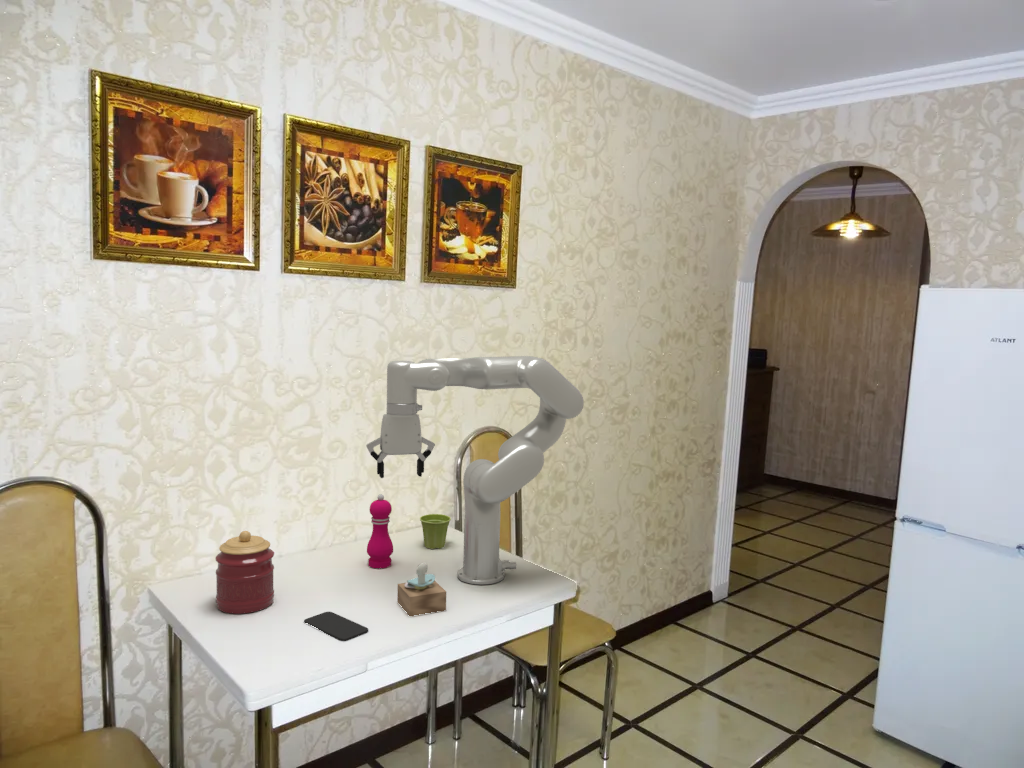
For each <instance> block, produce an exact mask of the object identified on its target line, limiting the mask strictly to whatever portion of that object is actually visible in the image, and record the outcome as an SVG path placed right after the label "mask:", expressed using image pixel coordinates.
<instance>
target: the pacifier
mask: <svg viewBox="0 0 1024 768" xmlns="http://www.w3.org/2000/svg"><path fill="white" fill-rule="evenodd" d="M427 571H428V564H427V563H426V562H425V561H424V562H421V563H420V564H419V565H418V566H417V568H416V575H417V577H414V578H412V579H408V580H406V582H404V583H405V585H404V586H405V587H406V588H414V589H418V590H420V589H424V588H426V587H427V586H428V585H430V584H432V583H433V582H434V581H436V575H435V574H432V573H428V574H427ZM431 580H432V581H431ZM429 581H430V582H429ZM409 584H411V585H409Z"/></svg>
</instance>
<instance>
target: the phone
mask: <svg viewBox="0 0 1024 768" xmlns="http://www.w3.org/2000/svg"><path fill="white" fill-rule="evenodd" d="M304 622H305V623H308V624H310V625H312V626H314V627H316V628H318V629H319V630H321V631H323V632H324V634H325V633H326V635H327V634H328V635H327V636H329V635H330V636H329V637H332V638H334V639H335V640H338V641H340V642H348V641H350V640H354V639H355V638H357V637H360V636H363V635H365V634H367V633H369V628H368V627H366V626H364V625H362V624H359V623H358V622H355V621H353V620H351V619H348V618H346V617H344V616H342V615H340V614H337V613H335V612H332V611H324V612H322V613H319V614H317V615H316V614H315V615H313V616H311V617H307V618H305V619H304V620H303V623H304ZM305 623H304V624H305ZM319 630H318V631H319ZM321 631H320V632H321ZM323 632H322V633H323Z"/></svg>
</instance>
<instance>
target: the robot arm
mask: <svg viewBox="0 0 1024 768" xmlns="http://www.w3.org/2000/svg"><path fill="white" fill-rule="evenodd" d="M445 387H465V388H467V387H468V388H473V389H475V390H487V391H488V390H499V389H500V390H501V389H502V390H503V389H505V390H507V389H530V390H531V391H532V392H533V393H534V394H536V395H537V397H539V409H538V411H537V412H538V413H537V415H536V416H535V418H534V419H533V420H532V421H531V422H530V423H529V424H527V425H526V426H525V427H524V428H522V429H520V430H519V431H518V432H517V433H515V434H514V435H512V436H511V437H509V438H508V439H507V440H505V441H504V442H503V443H502V444H501V445H500V447H499V449H498V452H497V456H498V460H497V461H496V462H495V463H494V462H493V461H492V460H489V459H485V458H478V459H475V460H473V461H471V462H470V463H469V464H468V465H467V467H466V468H465V470H464V473H463V478H462V479H463V480H462V485H463V497H464V498H463V499H464V523H463V525H464V526H463V530H464V531H463V561H462V563H463V565H462V566H463V567H461V568H459V569H458V570H457V574H456V577H457V578H458V579H459V580H460V581H461V582H463V583H467V584H470V585H471V584H472V585H481V586H482V585H492V584H497V583H498V582H501V581H503V580H504V578H505V571H506V570H516V569H517V562H516V561H509V559H505V560H504V559H503V560H502V559H501V558H500V538H501V537H500V535H501V533H500V532H501V503H502V502H504V501H506V500H508V498H510V497H511V496H513V495H514V494H516V493H517V492H518V491H520V490H521V489H522V488H524V487H525V486H527V484H529V483H530V482H531V481H533V480H534V479H535V478H536V477H537V476H538V475H539V474H540V472H541V471H542V469H543V466H544V463H545V455H544V454H545V452H546V451H547V450H549V449H550V448H551V447H552V446H553V445H555V444H556V443H557V442H558V440H559V439H560V438H561V436H562V434H563V432H564V430H565V428H566V422H567V420H571V419H574V418H576V417H578V416H579V415H581V412H582V411H583V409H584V405H585V403H584V402H585V401H584V397H583V394H582V393H581V391H580V390H579V389H578V387H576V386H575V385H574V384H573V383H572V382H570V380H568V378H566V377H565V376H564V375H563V374H562V373H561V372H560V371H559V370H558V369H557V368H556V367H555V366H554V365H553V364H551V363H550V362H549V361H547V360H546V359H544V358H542V357H538V356H531V355H521V356H520V355H518V356H516V355H515V356H512V355H511V356H479V357H463V358H462V357H460V358H455V357H453V358H452V357H451V358H450V357H449V358H428V359H427V358H425V359H422V360H419V362H414V361H411V360H393V361H390V362H388V363H387V368H386V413H385V414H383V415H382V419H381V420H382V421H381V427H380V436H379V437H378V438H377V439H374V440H372V441H371V442H369V443H367V444H366V448H367V450H368V452H369V454H370V456H371V457H372V458H373V459H374V460H376V462H377V463H376V467H377V468H376V474H377V475H379V477H380V479H384V478H385V462H384V459H385V458H386V457H387V456H396V455H398V456H401V455H404V456H405V455H416V456H417V457H418V458H417V460H416V475H417V476H418V477H419V478H421V477H422V476H423V473H424V472H425V461H426V459H427V458H429V456H431V454H432V451H433V450H434V449H435V446H436V444H435V443H434V442H433V441H431V440H429V439H427V438H425V437H423V436H422V426H421V421H420V420H421V419H420V415H419V414H418V412H419V411H422V410H423V405H422V404H418V396H417V395H418V390H422V391H423V390H424V391H431V392H437V391H440V390H442V389H444V388H445ZM422 444H424V445H426V446H427V447H426V449H425V450H424V451H423V452H422V448H423V447H422ZM378 445H379V448H380V452H379V453H377V452H376V451H375V449H374V448H375V447H377V446H378Z"/></svg>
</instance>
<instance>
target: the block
mask: <svg viewBox="0 0 1024 768" xmlns="http://www.w3.org/2000/svg"><path fill="white" fill-rule="evenodd" d="M431 581H432V580H431ZM429 582H430V581H429ZM405 583H406V582H402V583H397V601H396V602H398V603H399V604H400V605H401V606H402V607H401V606H400V605H399V604H398V603H397V604H398V605H399V606H400V607H401V609H402V608H403V609H404V610H405V611H406V612H407V613H406V612H405V611H404V610H403V609H402V610H403V611H404V612H405V613H406V615H407V616H408V615H409V616H412V617H415V616H414V615H418V616H420V615H419V614H424V615H426V614H425V613H430V614H432V613H431V612H435V613H438V612H437V611H441V612H445V611H444V610H446V611H447V591H446V589H444V588H443V586H441V585H440V584H439V583H438V582H437V581H436V580H435V581H434V582H433V583H432V584H430V585H428V586H427V587H426V588H424V589H420V590H418V589H414V588H406V587H405V586H404V585H405ZM409 585H411V584H409ZM409 616H408V617H409Z"/></svg>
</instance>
